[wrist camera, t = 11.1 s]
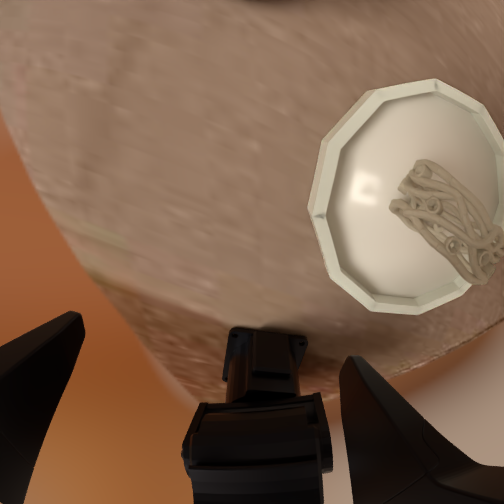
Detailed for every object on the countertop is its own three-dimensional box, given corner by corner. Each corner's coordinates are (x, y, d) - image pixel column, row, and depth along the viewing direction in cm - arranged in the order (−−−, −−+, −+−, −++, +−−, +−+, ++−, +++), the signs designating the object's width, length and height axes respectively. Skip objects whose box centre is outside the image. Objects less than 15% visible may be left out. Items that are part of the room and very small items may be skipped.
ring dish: (457, 307, 23) (466, 318, 21) (287, 288, 22) (289, 302, 20) (515, 133, 16) (529, 136, 14) (337, 49, 15) (345, 43, 13)
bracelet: (438, 251, 20) (497, 309, 13) (365, 197, 18) (424, 248, 11) (465, 209, 18) (533, 255, 11) (396, 147, 17) (471, 172, 10)
